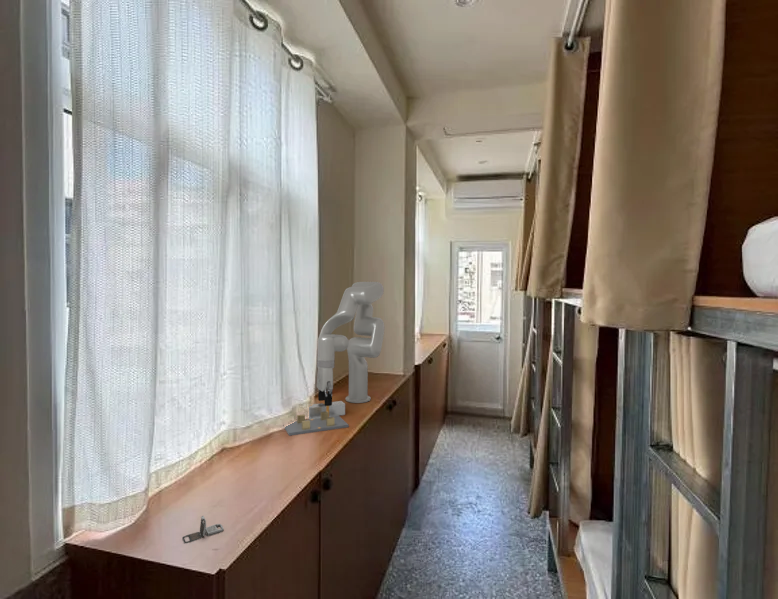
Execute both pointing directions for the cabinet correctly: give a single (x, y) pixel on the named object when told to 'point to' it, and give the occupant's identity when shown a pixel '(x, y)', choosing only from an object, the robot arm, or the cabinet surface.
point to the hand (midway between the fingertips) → (324, 402)
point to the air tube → (327, 409)
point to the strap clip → (204, 531)
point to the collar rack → (315, 424)
